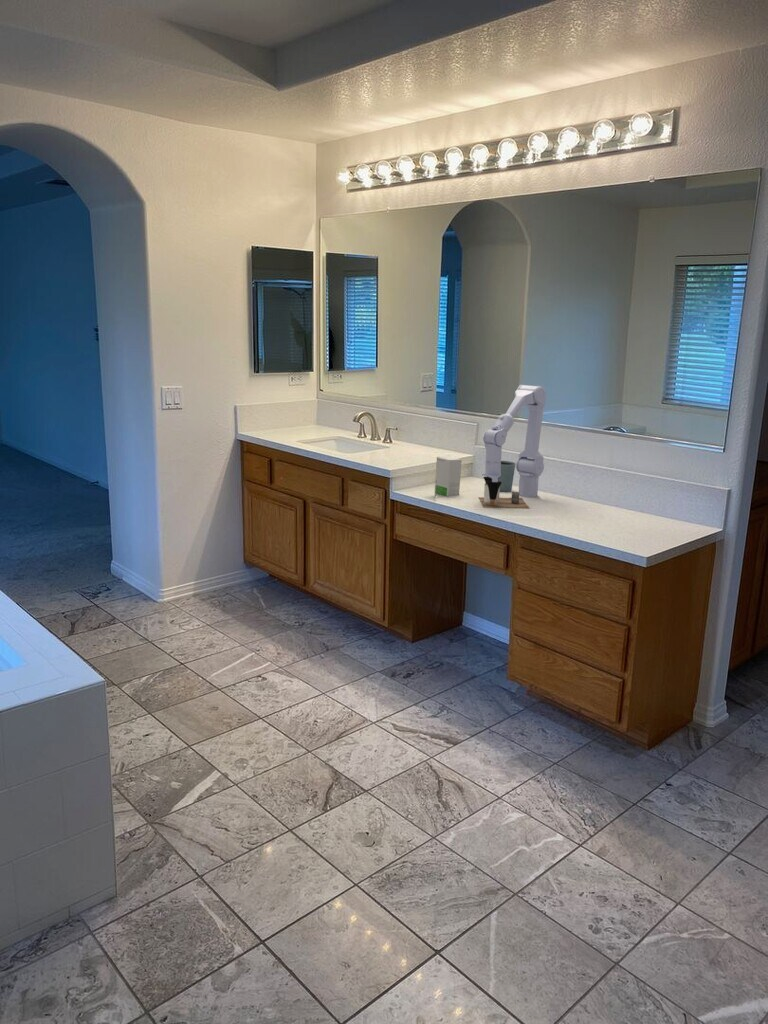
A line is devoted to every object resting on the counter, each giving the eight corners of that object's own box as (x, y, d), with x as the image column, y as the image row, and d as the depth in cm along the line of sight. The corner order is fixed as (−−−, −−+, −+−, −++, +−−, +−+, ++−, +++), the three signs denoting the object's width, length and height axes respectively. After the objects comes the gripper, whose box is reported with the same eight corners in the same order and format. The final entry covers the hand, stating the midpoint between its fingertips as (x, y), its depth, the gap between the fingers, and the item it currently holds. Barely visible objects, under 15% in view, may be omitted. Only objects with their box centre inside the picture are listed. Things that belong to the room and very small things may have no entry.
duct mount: (478, 499, 312) (478, 487, 311) (521, 500, 312) (522, 487, 311) (483, 510, 295) (484, 497, 294) (529, 511, 295) (530, 497, 294)
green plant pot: (485, 489, 332) (486, 460, 329) (507, 488, 335) (508, 459, 332) (495, 494, 323) (497, 465, 320) (518, 493, 326) (519, 464, 323)
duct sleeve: (483, 500, 306) (483, 482, 304) (497, 501, 306) (498, 483, 304) (484, 504, 301) (485, 485, 299) (499, 504, 301) (500, 485, 299)
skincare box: (434, 495, 319) (435, 456, 316) (446, 493, 323) (447, 455, 320) (448, 499, 313) (449, 459, 309) (460, 497, 317) (462, 458, 313)
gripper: (480, 458, 307) (478, 493, 310) (484, 464, 293) (483, 501, 296) (498, 458, 307) (497, 493, 310) (504, 465, 293) (502, 501, 296)
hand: (491, 497), depth 303 cm, fingers open, 6 cm apart
